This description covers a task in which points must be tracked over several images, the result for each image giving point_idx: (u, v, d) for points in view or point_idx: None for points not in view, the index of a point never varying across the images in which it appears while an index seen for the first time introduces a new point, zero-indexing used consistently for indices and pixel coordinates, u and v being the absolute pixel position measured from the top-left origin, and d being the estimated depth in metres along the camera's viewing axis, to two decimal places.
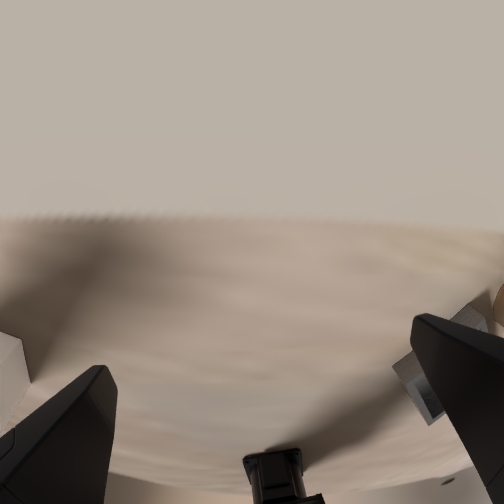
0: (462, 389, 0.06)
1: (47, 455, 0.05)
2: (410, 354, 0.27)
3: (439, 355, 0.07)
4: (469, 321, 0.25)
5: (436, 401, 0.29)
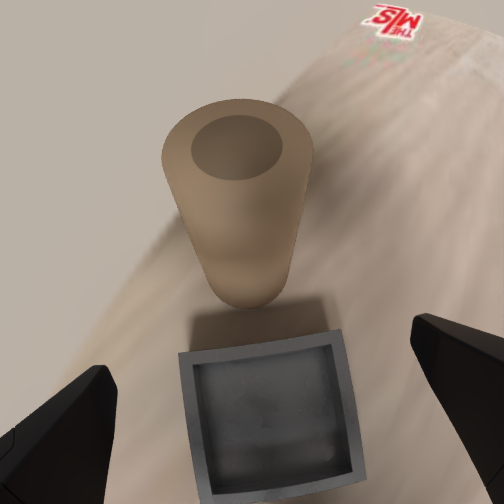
0: (462, 389, 0.06)
1: (47, 454, 0.04)
2: None
3: (439, 355, 0.07)
4: None
5: (342, 446, 0.17)
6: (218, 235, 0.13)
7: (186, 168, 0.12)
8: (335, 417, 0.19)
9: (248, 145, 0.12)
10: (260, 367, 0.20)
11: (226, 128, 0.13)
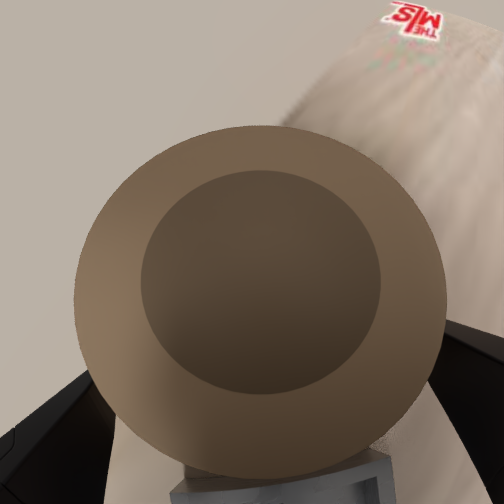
0: (462, 389, 0.06)
1: (47, 455, 0.05)
2: None
3: (439, 355, 0.07)
4: None
5: None
6: None
7: (129, 341, 0.04)
8: None
9: (292, 268, 0.05)
10: None
11: (232, 212, 0.05)
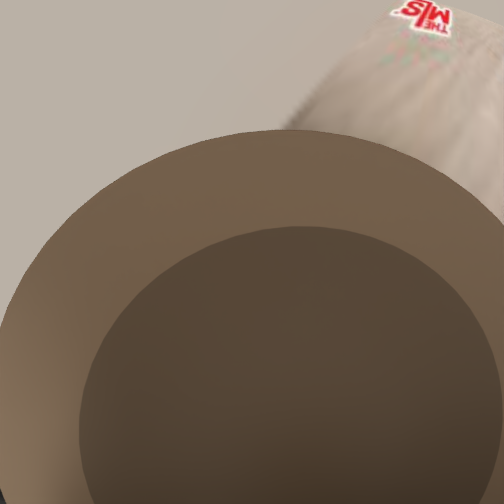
0: None
1: None
2: None
3: None
4: None
5: None
6: None
7: None
8: None
9: (368, 439, 0.02)
10: None
11: (250, 329, 0.02)
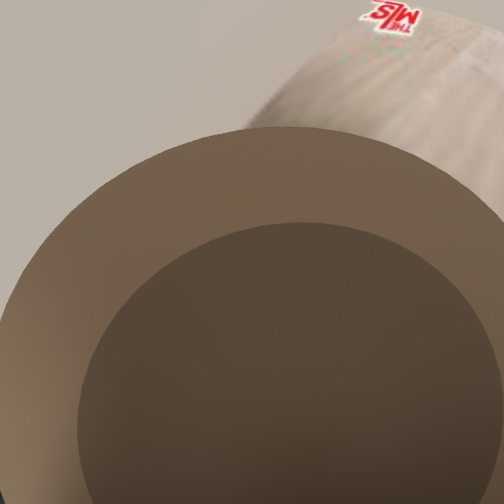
0: None
1: None
2: None
3: None
4: None
5: None
6: None
7: None
8: None
9: (368, 435, 0.02)
10: None
11: (249, 324, 0.02)
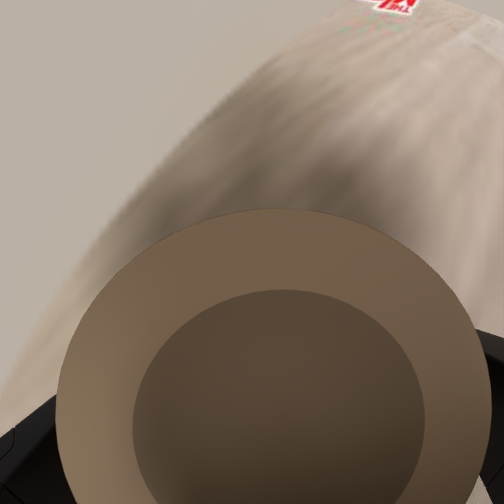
0: None
1: (47, 454, 0.04)
2: None
3: None
4: None
5: None
6: None
7: None
8: None
9: (321, 430, 0.03)
10: None
11: (244, 359, 0.04)
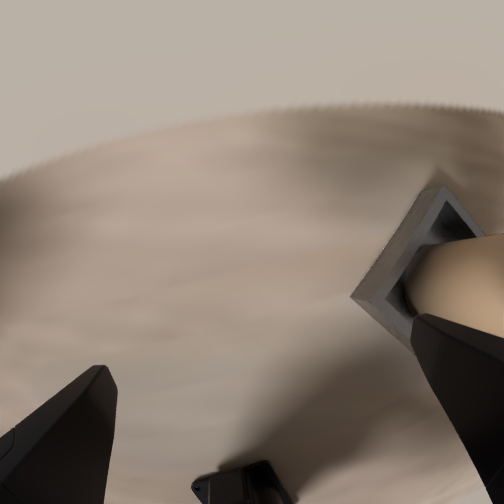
0: (462, 389, 0.06)
1: (47, 454, 0.05)
2: (369, 272, 0.21)
3: (439, 355, 0.07)
4: (427, 199, 0.20)
5: None
6: None
7: None
8: None
9: None
10: None
11: None
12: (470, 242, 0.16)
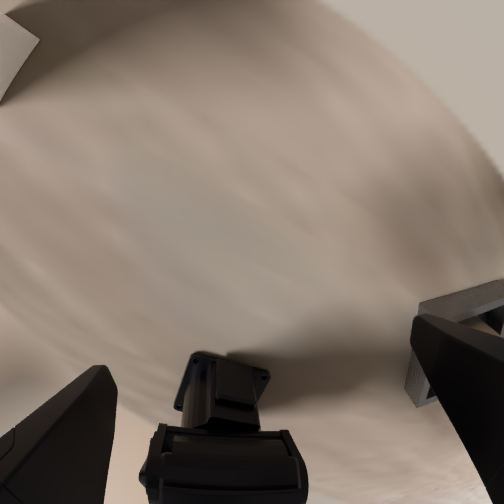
0: (462, 389, 0.06)
1: (47, 455, 0.05)
2: (440, 298, 0.24)
3: (439, 355, 0.07)
4: (500, 291, 0.22)
5: None
6: None
7: None
8: None
9: None
10: None
11: None
12: None
